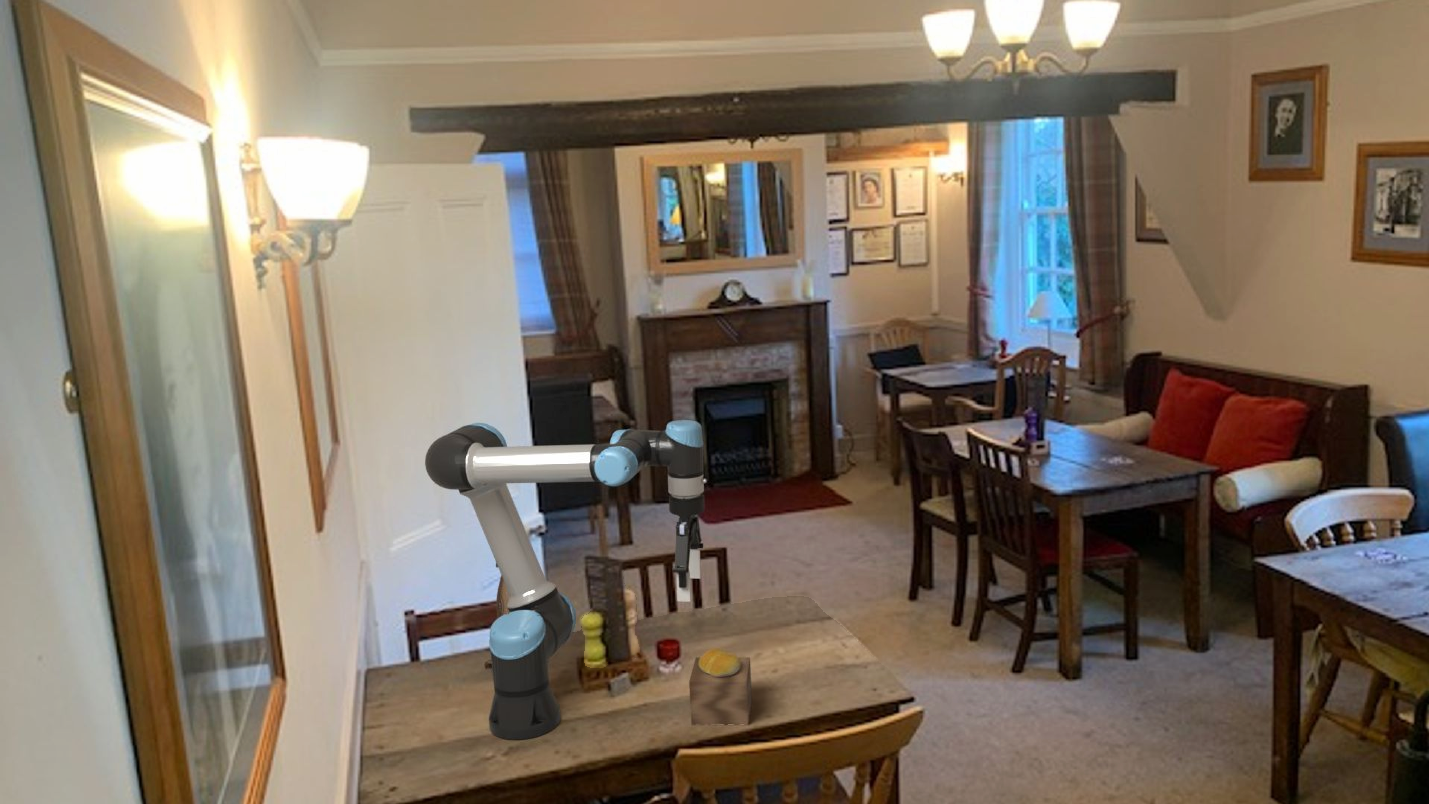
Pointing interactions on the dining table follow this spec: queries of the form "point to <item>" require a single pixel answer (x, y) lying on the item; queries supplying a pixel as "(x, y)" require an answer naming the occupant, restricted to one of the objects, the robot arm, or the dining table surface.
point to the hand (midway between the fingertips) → (689, 589)
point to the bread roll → (719, 663)
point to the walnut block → (721, 696)
